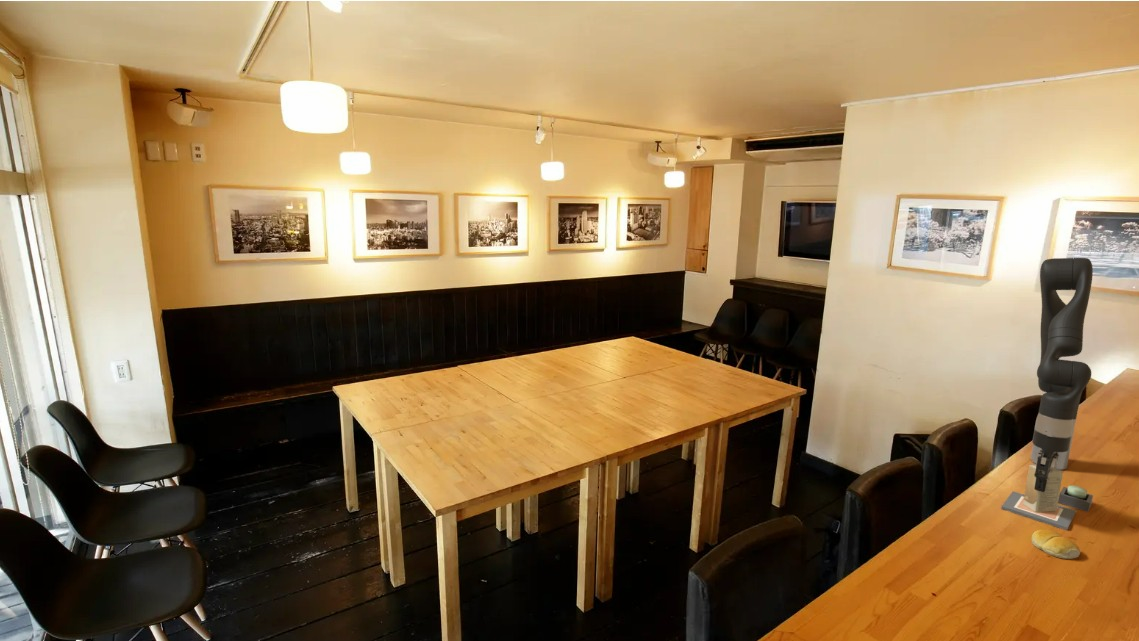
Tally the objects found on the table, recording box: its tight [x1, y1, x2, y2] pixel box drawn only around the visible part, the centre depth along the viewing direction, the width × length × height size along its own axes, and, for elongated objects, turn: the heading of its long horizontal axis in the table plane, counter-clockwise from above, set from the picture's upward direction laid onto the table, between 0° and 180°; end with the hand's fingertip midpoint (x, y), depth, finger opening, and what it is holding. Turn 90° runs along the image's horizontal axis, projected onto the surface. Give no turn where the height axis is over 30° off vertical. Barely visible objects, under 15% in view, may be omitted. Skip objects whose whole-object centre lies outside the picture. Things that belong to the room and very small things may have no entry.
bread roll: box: [1031, 529, 1081, 560], centre depth 135 cm, size 8×9×4 cm
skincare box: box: [1023, 464, 1064, 512], centre depth 151 cm, size 6×4×12 cm
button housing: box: [1058, 486, 1094, 513], centre depth 156 cm, size 6×6×3 cm
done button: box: [1067, 484, 1088, 498], centre depth 155 cm, size 4×4×2 cm
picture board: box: [1000, 490, 1077, 531], centre depth 152 cm, size 13×14×1 cm
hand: (1042, 485), depth 151 cm, fingers open, 8 cm apart
